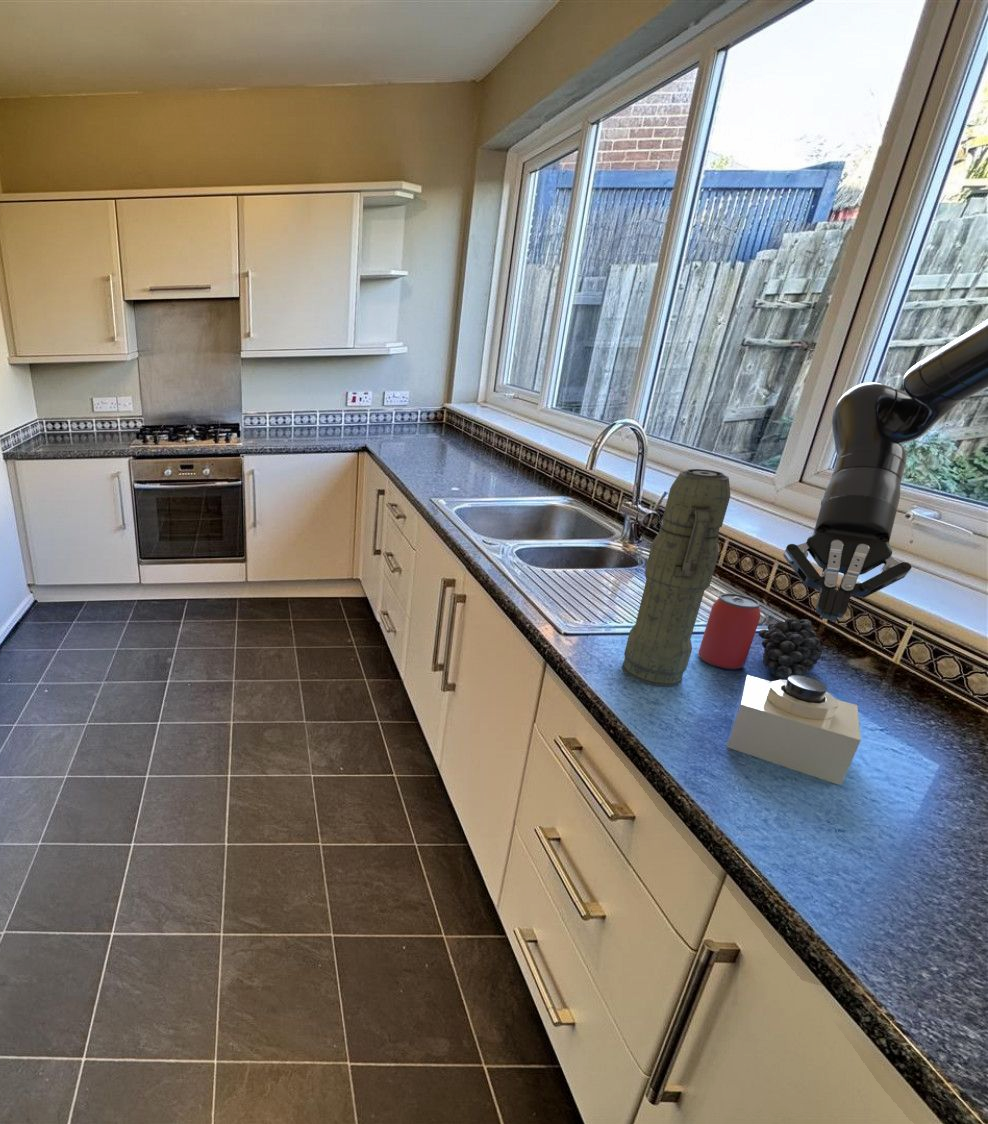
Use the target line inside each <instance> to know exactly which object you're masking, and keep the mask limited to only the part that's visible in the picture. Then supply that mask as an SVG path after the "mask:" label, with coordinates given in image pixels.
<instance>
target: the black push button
mask: <svg viewBox="0 0 988 1124" xmlns="http://www.w3.org/2000/svg"><path fill="white" fill-rule="evenodd" d="M827 690H828V687H827V685H826V684H824V683H823V682H822V681H819V680H817V679H815V678H811V677H809V676H806V675H804V676H798V675H792V676H789V677H788V679H787V682H786V684H785V687H784V690H783V691H784V692H785V693H786V694H787V695H789V696H791V697H793V698H795V699H798V700H801V701H805V702H808V703H822V701H823V698H824V696H825V693H826V692H827Z"/></svg>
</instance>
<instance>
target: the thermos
mask: <svg viewBox="0 0 988 1124" xmlns="http://www.w3.org/2000/svg"><path fill="white" fill-rule="evenodd" d="M730 499H731V486H730V477H729V475H728V476H727V475H725V474H724V473H723V472H720V471H717V470H711V469H703V468H690V469H686V470H684V471H680V473H679V474H678V475H677V477H676V478H675V480H674V481H673V483H672V484H671V486H670V488H669V492H668V496H667V499H666V504H665V507H664V512H663V516H662V520H663V523H662V525H660V528H659V531H658V533H657V535H656V536H655V537H654V539H653V540H652V542H651V545H650V549H649V554H648V557H647V562H646V566H645V570H644V577H645V584H644V588H643V592H642V596H641V600H640V603H639V608H638V612H637V615H636V620H635V623H634V625H633V626H632V628H630V630H629V633H628V637H627V641H626V645H625V649H624V653H623V655H624V660H623V662H622V665H621V669H622V670H623V672H624V673H625V674H626V675H627V676H628V677H630V678H632V679H634V680H636V681H638V682H641V683H643V684H645V685H646V684H647V685H651V686H653V687H662V688H672V687H677V686H678V685H681V683H682V681H683V675H684V672H685V671H686V670H687V668H688V664H689V662H690V658H691V654H692V650H693V646H692V635H693V632H694V628H695V625H696V622H697V618H698V615H699V611H700V608H701V605H702V602H703V597H704V594H705V591H706V590H707V589H708V588H709V587H710V586H711V583H712V580H713V576H714V573H715V569H716V566H717V562H718V559H719V555H720V552H719V551H720V550H719V537H720V533H719V531H720V528H722V527H723V524H724V520H725V517H726V514H727V509H728V507H729V503H730V502H729V501H730Z"/></svg>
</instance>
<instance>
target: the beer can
mask: <svg viewBox="0 0 988 1124" xmlns="http://www.w3.org/2000/svg"><path fill="white" fill-rule="evenodd" d="M760 606H761V603H760V602H759V601H758V600H757V599H755V598H754V597H751V596H747V595H743V594H739V593H731V592H729V593H727V592H726V593H721V594H720V595H718V598H717V599H716V600H715V602H714V603H713V604H712V606H711V608H710V612H709V615H708V619H707V621H706V626H705V629H704V632H703V636H702V639H701V642H700V646H699V648H698V656H699V658H700V660H702V661H704V662H705V663H706V664H708V665H710V666H713V667H716V668H719V669H724V670H739V669H741V668H743V667H744V666H745V665H746V662H747V659H748V655H749V652H750V649H751V646H752V644H753V640H754V637H755V635H756V632H757V629H758V626H759V623H760V619H761V610H760Z"/></svg>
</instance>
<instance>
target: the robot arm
mask: <svg viewBox="0 0 988 1124" xmlns="http://www.w3.org/2000/svg"><path fill="white" fill-rule="evenodd" d="M902 387H903V390H901V389H898V388H895V387H892V386H889V385H887V384H883V383H880V382H868V381H867V382H864V383H860V384H857V385H855V386H852V388H849V389H848V390H847V391H846V392H845V393H843V394H842V396H841V397H839V399H838V401H837V402H836V404H835V406H834V409H833V411H832V418H831V428H832V435H833V441H834V448H835V449H834V450H835V453H836V460H835V464H834V468H833V471H832V474H831V478H830V480H829V483H828V484H827V486H826V488H825V491H824V493H823V496H822V499H821V501H820V508H819V511H818V515H817V519H816V523H815V526H814V529H813V533H812V535H810V536H808V538H807V540H806V541H805V542H804V543H800V544H795V543H789V544H788V545H787V546H786V548H785V550H784V552H783V555H782V556H783V558H784V559H785V560H786V562H787V563H788V564H789V566H790V568H791V569H792V570H793V571H794V573H795V574H796V575H797V577H798V578H799V580H800V581H801V582H802V583H803V585H804V586H806V587H807V588H813V589H816V590H817V591H818V593H819V595H818V598H817V601H816V606H815V613H817V614H819V615H820V617H819V618H820V619H824V620H828V621H833V622H835V621H836V620H837V619H838V618H839V619H842V618H843V616H845V614H846V613H847V611H848V607H849V603H850V599H851V598H852V597H858V598H862V599H863V598H867V597H869V596H871V595H873V594H875V593H877V592H879V591H881V590H882V589H885V588H887V587H889V586H890V585H893V584H895V583H897V582H898V581H900V580H902V579H904V578H905V577H906V576H907V575H908V573H910V571H911V570H912V564H911V563H909V562H905V561H903V562H900V560H898V559H897V558H895V557H894V556H892V555H893V549H892V547H891V546H890V540H891V536H892V532H893V527H894V524H895V519H896V516H897V513H898V512H897V511H898V507H899V503H900V498H901V484H902V481H903V476H904V472H905V468H906V463H907V456H908V455H907V450H906V449H905V447H904V446H903V445H902V444H906V443H910V442H913V441H915V440H917V439H919V438H920V437H922V436H923V435H924V434H926V433H927V432H928V431H929V430H930V429H931V428H932V427H933V426H934V425H935V424H936V423H937V422H938V421H940V420H941V419H942V418H943V417H944V416H945V415H947V414H948V413H949V412H951V410H953V409H954V408H955V407H957V405H959V404H960V403H961V402H962V401H964V400H966V399H969V398H970V397H972V396H974V395H976V394H978V393H980V392H982V391H984V390H986V389H987V388H988V319H986V320H985V321H983V322H982V323H980V324H978V325H976V326H975V327H974V328H972V329H970V330H969V331H967V332H965V333H964V334H962V335H960V336H959V337H958V338H956V339H954V340H952V341H950V342H948V343H947V344H946V345H944V346H943V347H941V348H939V349H937V350H936V351H934V352H932V353H931V354H929V355H928V356H926V357H924V358H923V359H921V360H920V361H918V362H917V363H915V364H914V365H913V366H911V367H910V368H909V369H908V370H907V371H906V372H905V374H904V375H903V379H902ZM809 555H810V556H811V557H812V559H813V560H814V562H815V563H816V564H817V566H818V567H819V568H820V569H821V570H822V572H821V575H820V573H819V572H818V570H817V569H816V568H815V567H814V566H813V564H812V563H811V562H810V560H809V559H808V556H809ZM882 564H883V566H882V567H881V569H880V573H878V574H876V575H874V576H873V577H870V578H869V579H866V580H864V581H863V582H857V581H858V578H859V576H860V575H861V576H862V575H864V574H865V575H866V573H869V572H870V571H872V570H874V569H875V568H877V567H880V566H881V565H882ZM839 574H843V575H842V578H841V580H840V583H839V586H838V588H837V589H836V586H837V585H838V577H839Z"/></svg>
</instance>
